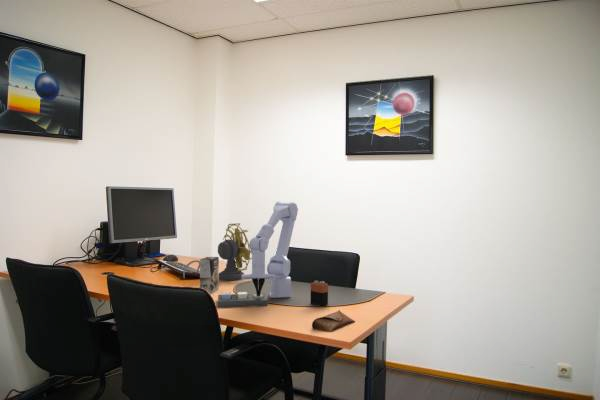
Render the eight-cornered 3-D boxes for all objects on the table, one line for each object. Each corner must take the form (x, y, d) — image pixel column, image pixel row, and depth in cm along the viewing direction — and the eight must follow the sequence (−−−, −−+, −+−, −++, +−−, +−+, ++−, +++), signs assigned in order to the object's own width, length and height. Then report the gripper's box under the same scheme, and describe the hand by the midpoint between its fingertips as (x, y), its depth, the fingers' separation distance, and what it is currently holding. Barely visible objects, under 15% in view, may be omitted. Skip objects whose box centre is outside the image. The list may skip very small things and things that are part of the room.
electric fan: (255, 280, 261) (255, 224, 260) (199, 287, 243) (199, 227, 242) (234, 272, 283) (234, 221, 281) (180, 278, 265) (180, 223, 264)
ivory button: (246, 298, 215) (246, 292, 215) (247, 300, 211) (247, 294, 211) (237, 299, 214) (237, 292, 214) (237, 301, 210) (237, 294, 210)
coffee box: (212, 293, 230) (212, 259, 229) (199, 292, 231) (199, 259, 231) (219, 289, 239) (219, 256, 238) (206, 288, 240) (206, 256, 240)
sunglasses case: (331, 332, 171) (323, 314, 173) (317, 339, 175) (309, 321, 177) (356, 321, 186) (349, 304, 188) (343, 327, 190) (335, 311, 191)
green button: (262, 300, 216) (262, 294, 216) (263, 303, 212) (263, 296, 212) (253, 301, 215) (253, 294, 215) (254, 303, 212) (254, 296, 211)
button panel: (265, 298, 220) (265, 293, 220) (267, 305, 208) (267, 299, 208) (218, 300, 217) (218, 294, 217) (217, 307, 205) (217, 301, 205)
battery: (321, 306, 208) (322, 283, 207) (310, 303, 212) (310, 280, 212) (328, 304, 211) (328, 281, 211) (316, 301, 216) (316, 279, 215)
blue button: (230, 299, 214) (230, 292, 214) (230, 301, 210) (230, 294, 210) (221, 299, 213) (221, 292, 213) (221, 301, 209) (221, 294, 209)
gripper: (242, 266, 208) (242, 298, 209) (275, 266, 210) (275, 297, 211) (241, 263, 215) (241, 294, 216) (274, 263, 217) (274, 293, 218)
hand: (258, 295), depth 214 cm, fingers closed, pressing on green button
